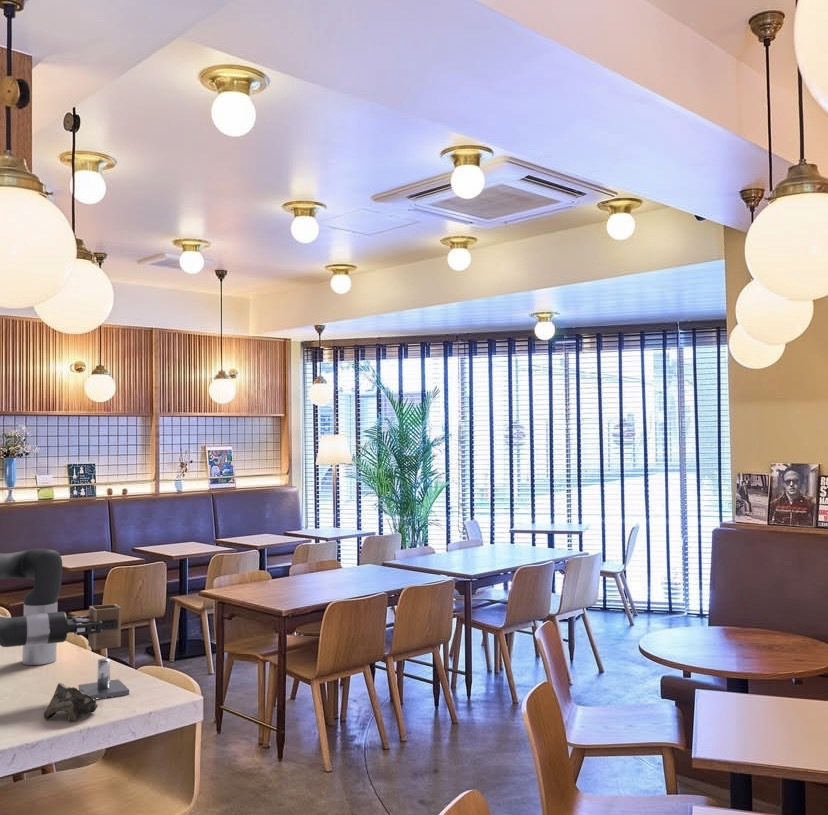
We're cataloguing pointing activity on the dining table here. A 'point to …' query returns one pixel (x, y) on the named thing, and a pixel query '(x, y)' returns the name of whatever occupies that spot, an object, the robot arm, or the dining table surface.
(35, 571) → the robot arm
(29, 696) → the dining table surface
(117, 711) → the dining table surface
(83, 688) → the post plate
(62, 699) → the fossil
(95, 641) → the walnut sleeve
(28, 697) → the dining table surface
